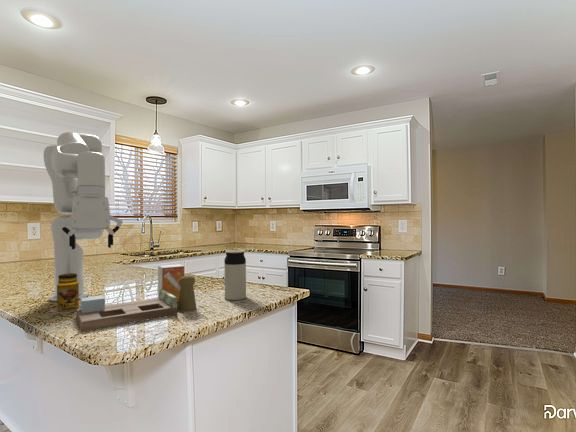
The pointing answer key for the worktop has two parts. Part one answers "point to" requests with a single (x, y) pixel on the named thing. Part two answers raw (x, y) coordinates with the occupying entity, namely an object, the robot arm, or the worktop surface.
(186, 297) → the pepper mill
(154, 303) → the board
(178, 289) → the small box
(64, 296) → the condiment
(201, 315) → the worktop surface
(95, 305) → the block
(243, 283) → the travel mug
